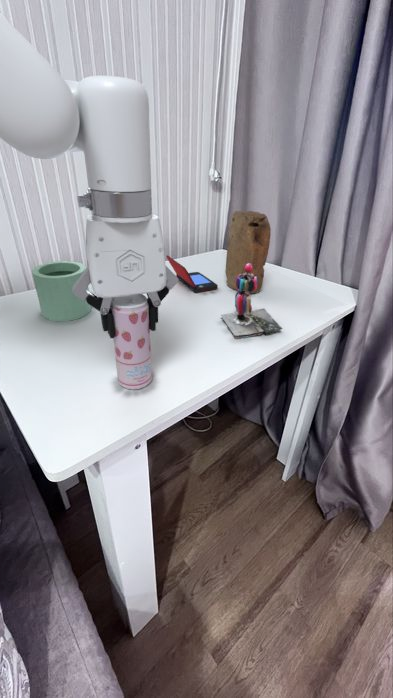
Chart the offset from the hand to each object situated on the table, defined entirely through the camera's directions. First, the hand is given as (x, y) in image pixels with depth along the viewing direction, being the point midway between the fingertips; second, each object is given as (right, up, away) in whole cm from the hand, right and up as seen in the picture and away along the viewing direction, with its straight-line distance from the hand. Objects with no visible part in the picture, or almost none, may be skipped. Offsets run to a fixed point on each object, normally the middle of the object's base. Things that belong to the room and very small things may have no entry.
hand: (131, 329), depth 51 cm
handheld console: (+9, +15, +43) cm, 46 cm away
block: (+23, +14, +42) cm, 50 cm away
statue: (+22, +2, +23) cm, 32 cm away
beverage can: (0, -8, +5) cm, 10 cm away
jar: (-20, +6, +26) cm, 34 cm away
